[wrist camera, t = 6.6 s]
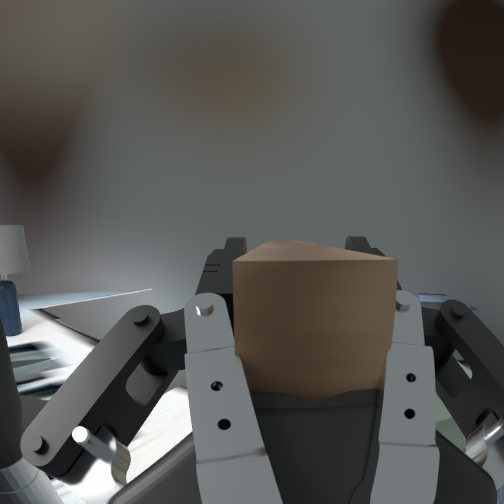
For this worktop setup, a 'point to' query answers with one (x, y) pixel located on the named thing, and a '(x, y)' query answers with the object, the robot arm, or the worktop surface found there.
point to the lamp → (8, 262)
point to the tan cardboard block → (312, 318)
